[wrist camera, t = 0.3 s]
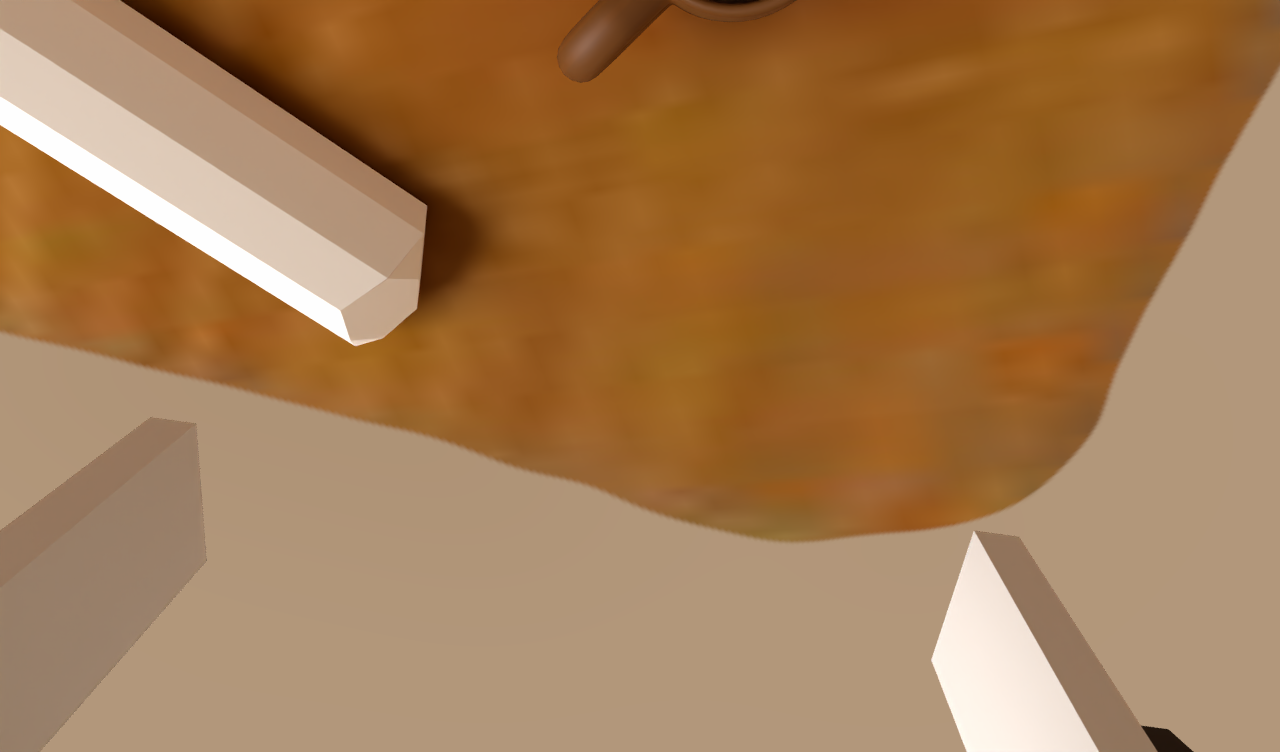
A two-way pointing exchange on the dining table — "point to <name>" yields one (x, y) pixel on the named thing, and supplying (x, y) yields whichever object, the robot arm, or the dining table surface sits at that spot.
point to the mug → (639, 28)
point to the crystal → (212, 161)
